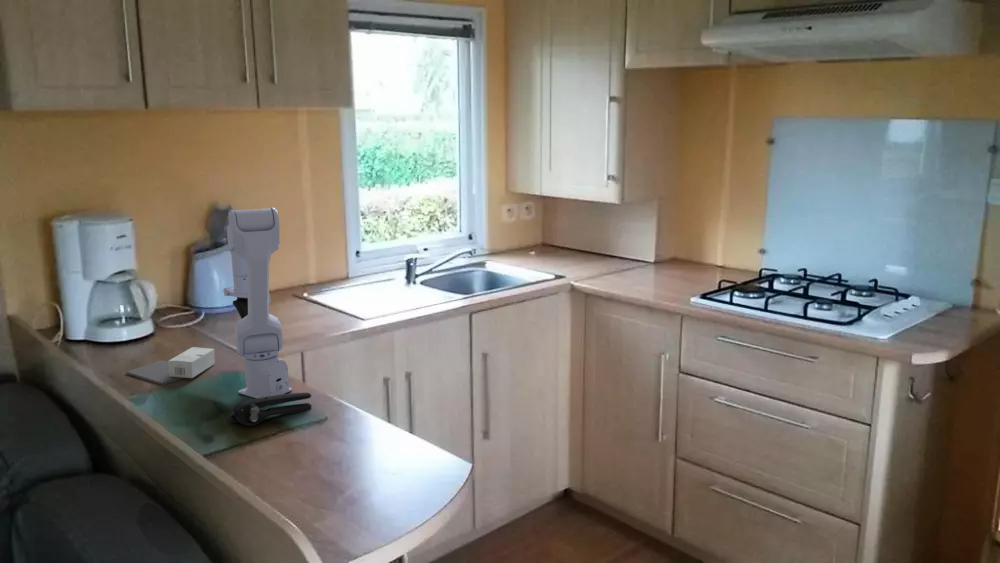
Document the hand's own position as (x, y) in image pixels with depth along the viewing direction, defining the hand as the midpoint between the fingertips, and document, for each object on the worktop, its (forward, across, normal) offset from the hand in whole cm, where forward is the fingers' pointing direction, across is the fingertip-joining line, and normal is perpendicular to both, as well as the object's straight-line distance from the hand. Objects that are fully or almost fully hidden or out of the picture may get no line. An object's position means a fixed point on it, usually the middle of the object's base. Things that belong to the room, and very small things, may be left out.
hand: (249, 327), depth 199 cm
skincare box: (+8, +6, +16) cm, 19 cm away
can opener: (+11, -28, +19) cm, 35 cm away
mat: (+10, +15, +15) cm, 24 cm away
